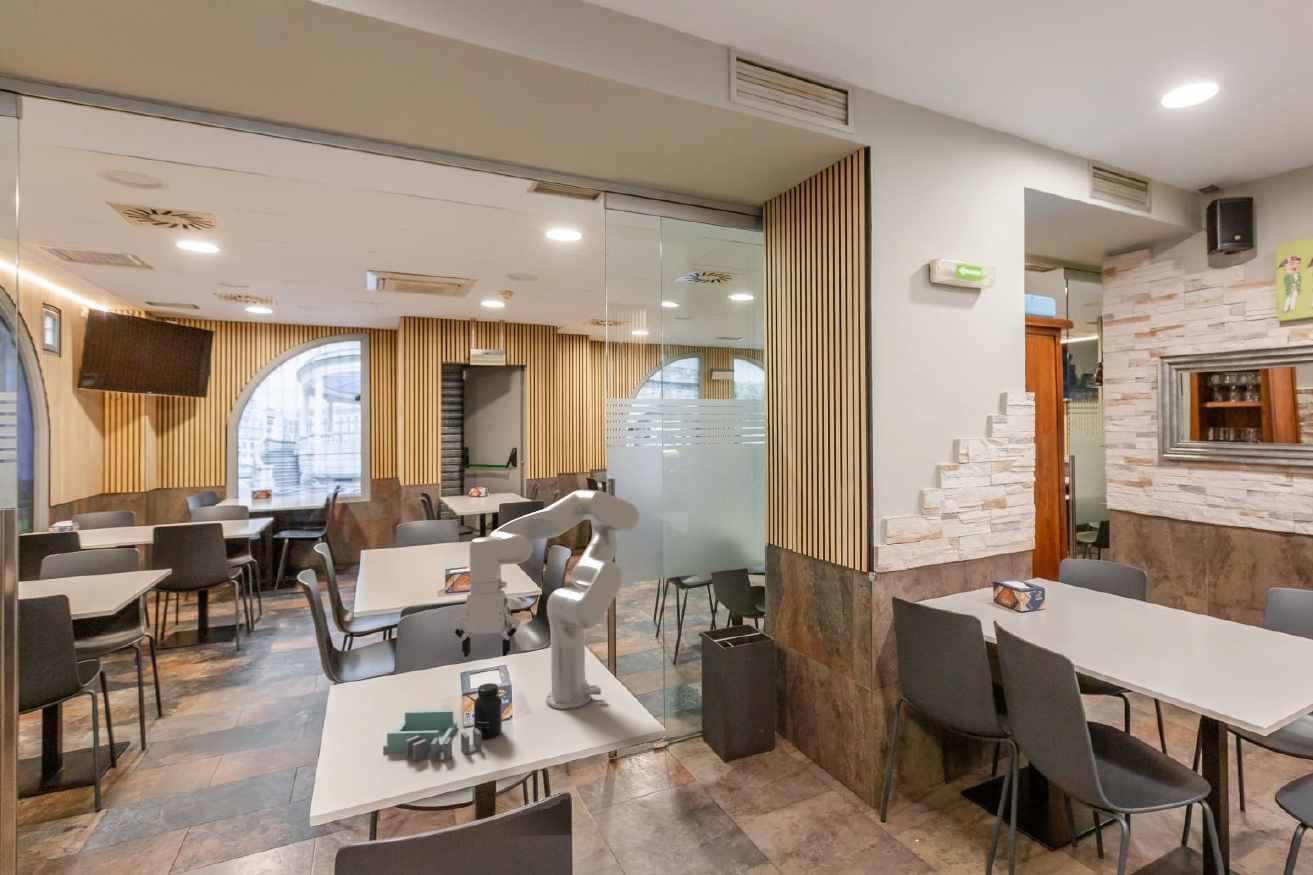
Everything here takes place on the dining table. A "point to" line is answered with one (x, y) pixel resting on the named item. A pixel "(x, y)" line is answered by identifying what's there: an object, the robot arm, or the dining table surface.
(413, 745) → the clip
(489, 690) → the supplement bottle
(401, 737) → the end holder
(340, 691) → the dining table surface
